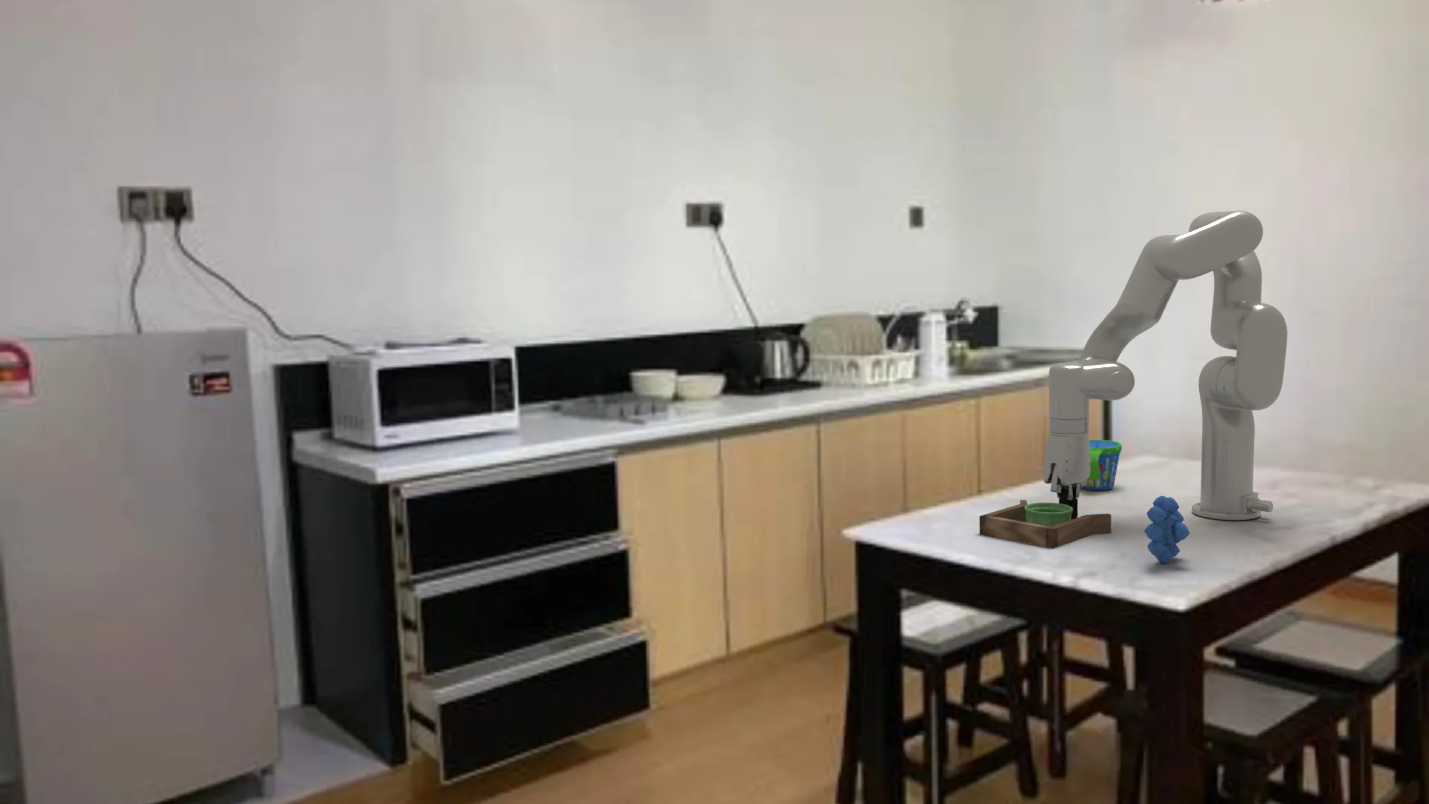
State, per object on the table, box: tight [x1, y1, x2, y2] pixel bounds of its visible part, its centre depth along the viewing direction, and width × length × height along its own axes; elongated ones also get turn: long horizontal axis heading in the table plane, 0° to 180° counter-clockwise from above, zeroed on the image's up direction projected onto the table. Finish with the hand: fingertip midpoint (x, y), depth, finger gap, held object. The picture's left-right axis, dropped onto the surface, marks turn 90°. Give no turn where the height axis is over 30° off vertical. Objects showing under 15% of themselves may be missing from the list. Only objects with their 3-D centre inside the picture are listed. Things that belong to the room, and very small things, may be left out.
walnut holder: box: [979, 499, 1112, 549], centre depth 218 cm, size 20×17×4 cm
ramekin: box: [1024, 502, 1073, 527], centre depth 220 cm, size 9×9×4 cm
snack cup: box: [1080, 439, 1123, 491], centre depth 255 cm, size 16×10×10 cm
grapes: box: [1144, 495, 1191, 564], centre depth 194 cm, size 12×7×12 cm, turn 136°
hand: (1068, 517), depth 224 cm, fingers closed
